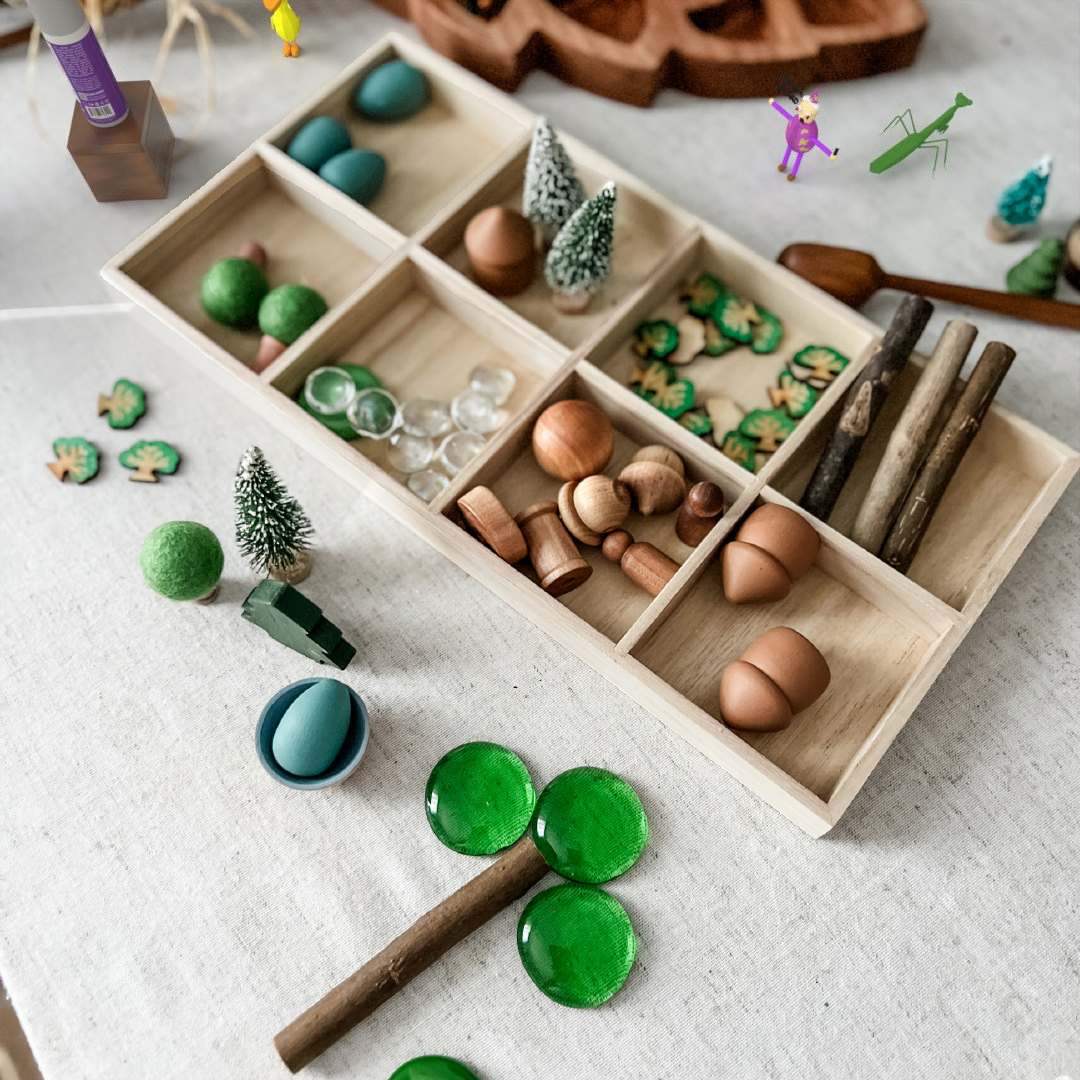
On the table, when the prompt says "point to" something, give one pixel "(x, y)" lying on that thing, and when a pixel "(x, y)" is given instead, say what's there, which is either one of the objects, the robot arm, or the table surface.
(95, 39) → the container
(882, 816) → the table surface
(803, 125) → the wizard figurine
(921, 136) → the praying mantis
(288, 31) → the toy figure
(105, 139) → the brown wooden cube
